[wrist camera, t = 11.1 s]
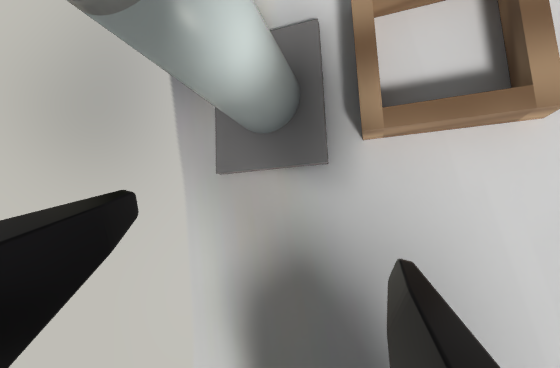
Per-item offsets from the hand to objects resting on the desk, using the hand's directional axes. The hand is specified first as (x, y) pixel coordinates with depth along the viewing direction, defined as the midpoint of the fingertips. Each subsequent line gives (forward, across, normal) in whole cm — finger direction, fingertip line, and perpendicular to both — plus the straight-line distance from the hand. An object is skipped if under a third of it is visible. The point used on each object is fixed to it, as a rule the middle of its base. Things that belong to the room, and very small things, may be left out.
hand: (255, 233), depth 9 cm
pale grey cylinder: (+12, +4, -1) cm, 13 cm away
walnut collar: (+14, -7, -5) cm, 16 cm away
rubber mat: (+13, +3, -1) cm, 13 cm away
